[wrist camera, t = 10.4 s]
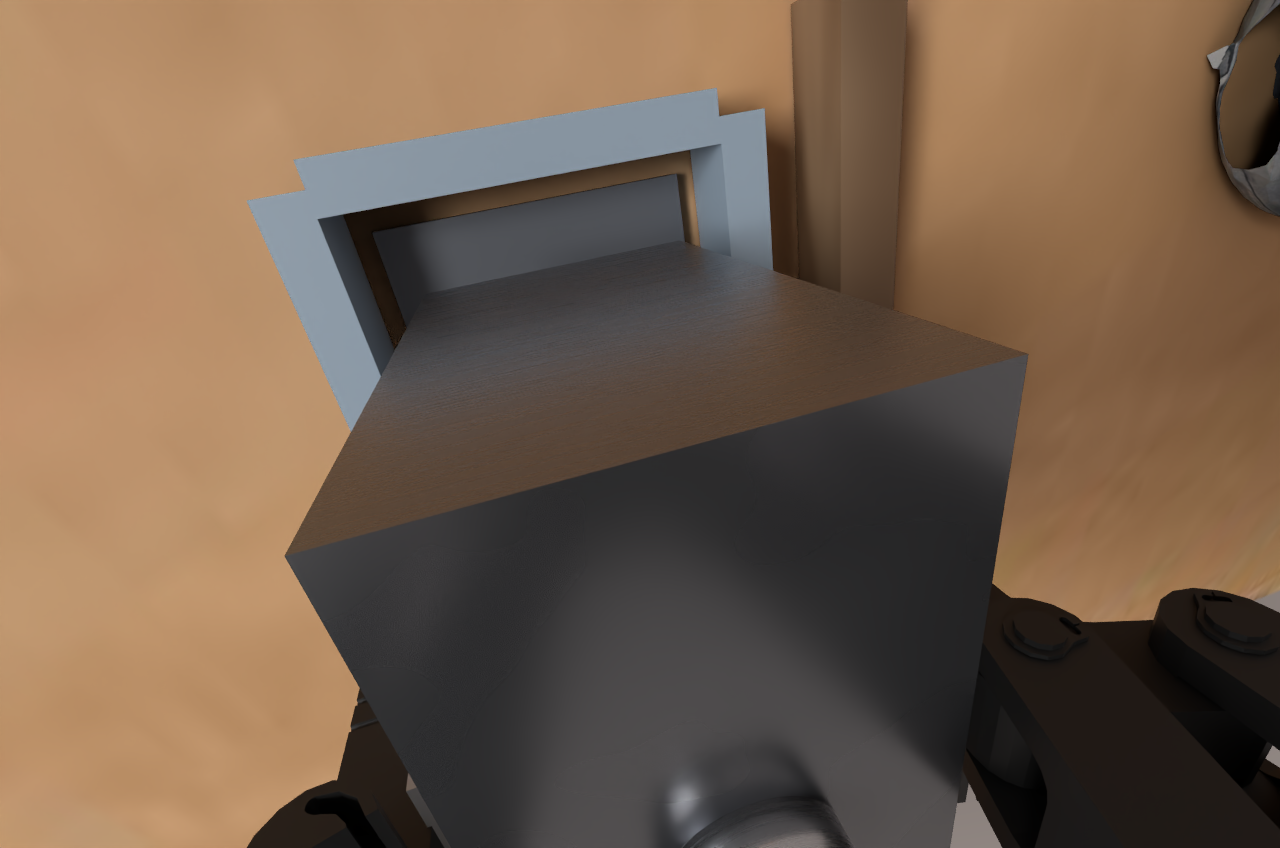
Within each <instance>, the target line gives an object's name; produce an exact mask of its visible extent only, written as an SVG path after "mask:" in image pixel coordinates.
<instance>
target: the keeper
mask: <svg viewBox="0 0 1280 848" xmlns="http://www.w3.org/2000/svg"><path fill="white" fill-rule="evenodd" d="M685 150H690V154H691V163H692V173H693V182H694V191H695V200H696V209H697V218H698V228H699V237H700V246H701V247H702V248H705V249H708V250H711V251H714V252H717V253H720V254H723V255H726V256H729V257H732V258H735V259H739V260H742V261H745V262H748V263H751V264H754V265H757V266H760V267H763V268H766V269H769V270H772V271H773V260H772V241H771V222H770V203H769V184H768V164H767V145H766V126H765V108H763V109H757V110H752V111H746V112H741V113H735V114H729V115H724V116H719V108H718V96H717V88H713V89H708V90H702V91H696V92H690V93H684V94H678V95H672V96H666V97H660V98H655V99H649V100H643V101H637V102H631V103H625V104H619V105H613V106H607V107H602V108H596V109H590V110H584V111H578V112H572V113H566V114H560V115H554V116H549V117H543V118H537V119H531V120H525V121H519V122H513V123H507V124H501V125H496V126H490V127H484V128H478V129H472V130H466V131H460V132H454V133H448V134H443V135H437V136H431V137H425V138H419V139H413V140H407V141H401V142H395V143H390V144H384V145H378V146H372V147H366V148H360V149H354V150H348V151H342V152H337V153H331V154H325V155H319V156H313V157H307V158H301V159H295V160H294V163H295V165H296V167H297V170H298V172H299V175H300V177H301V180H302V182H303V185H304V187H305V190H304V191H298V192H292V193H287V194H281V195H276V196H270V197H264V198H259V199H253V200H248V201H247V203H248V205H249V207H250V209H251V212H252V214H253V216H254V218H255V220H256V223H257V225H258V227H259V229H260V231H261V234H262V236H263V238H264V240H265V242H266V245H267V247H268V249H269V251H270V254H271V256H272V258H273V260H274V262H275V265H276V267H277V269H278V271H279V273H280V276H281V278H282V280H283V282H284V285H285V287H286V289H287V291H288V293H289V296H290V298H291V300H292V302H293V304H294V307H295V309H296V311H297V313H298V315H299V318H300V320H301V322H302V324H303V327H304V329H305V331H306V333H307V335H308V338H309V340H310V342H311V344H312V346H313V349H314V351H315V353H316V355H317V358H318V360H319V362H320V364H321V366H322V369H323V371H324V373H325V375H326V377H327V380H328V382H329V384H330V386H331V388H332V391H333V393H334V395H335V397H336V400H337V402H338V404H339V406H340V408H341V411H342V413H343V415H344V417H345V419H346V422H347V424H348V426H349V428H350V431H352V429H353V428H354V426H355V424H356V422H357V420H358V418H359V416H360V414H361V413H362V411H363V409H364V407H365V405H366V403H367V401H368V400H369V398H370V396H371V394H372V392H373V390H374V388H375V387H376V385H377V383H378V381H379V379H380V377H381V375H382V374H383V372H384V370H385V368H386V366H387V364H388V362H389V360H390V359H391V357H392V355H393V353H394V351H395V349H394V347H393V344H392V342H391V339H390V336H389V334H388V331H387V329H386V326H385V323H384V321H383V318H382V316H381V313H380V310H379V308H378V305H377V302H376V300H375V297H374V295H373V292H372V289H371V287H370V284H369V282H368V279H367V276H366V274H365V271H364V268H363V266H362V263H361V261H360V258H359V255H358V253H357V250H356V248H355V245H354V242H353V240H352V237H351V234H350V232H349V229H348V227H347V224H346V221H345V219H344V216H343V214H347V213H353V212H358V211H364V210H369V209H374V208H380V207H385V206H390V205H396V204H401V203H406V202H412V201H417V200H422V199H428V198H433V197H438V196H444V195H449V194H455V193H460V192H465V191H471V190H476V189H481V188H487V187H492V186H497V185H503V184H508V183H513V182H519V181H524V180H529V179H535V178H540V177H546V176H551V175H556V174H562V173H567V172H572V171H578V170H583V169H588V168H594V167H599V166H604V165H610V164H615V163H620V162H626V161H631V160H637V159H642V158H647V157H653V156H658V155H663V154H669V153H674V152H679V151H685ZM372 234H373V237H374V240H375V242H376V245H377V248H378V251H379V253H380V256H381V259H382V262H383V264H384V267H385V270H386V272H387V275H388V278H389V281H390V283H391V286H392V289H393V292H394V294H395V297H396V300H397V303H398V305H399V308H400V311H401V314H402V316H403V319H404V322H405V325H406V327H408V325H409V323H410V321H411V319H412V318H413V316H414V314H415V312H416V310H417V308H418V306H419V305H420V303H421V301H422V299H423V297H424V295H425V294H427V293H432V292H437V291H442V290H446V289H451V288H456V287H461V286H465V285H470V284H475V283H480V282H484V281H489V280H494V279H499V278H503V277H508V276H513V275H518V274H522V273H527V272H532V271H537V270H541V269H546V268H551V267H556V266H560V265H565V264H570V263H575V262H579V261H584V260H589V259H594V258H598V257H603V256H608V255H613V254H617V253H622V252H627V251H632V250H636V249H641V248H646V247H651V246H655V245H660V244H665V243H670V242H674V241H679V240H680V241H683V242H685V239H684V231H683V223H682V215H681V206H680V198H679V190H678V181H677V174H670V175H665V176H660V177H655V178H649V179H644V180H639V181H634V182H629V183H624V184H618V185H613V186H608V187H603V188H598V189H592V190H587V191H582V192H577V193H572V194H567V195H561V196H556V197H551V198H546V199H541V200H535V201H530V202H525V203H520V204H515V205H510V206H504V207H499V208H494V209H489V210H484V211H479V212H473V213H468V214H463V215H458V216H453V217H447V218H442V219H437V220H432V221H427V222H422V223H416V224H411V225H406V226H401V227H396V228H391V229H385V230H380V231H375V232H373V233H372Z"/></svg>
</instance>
